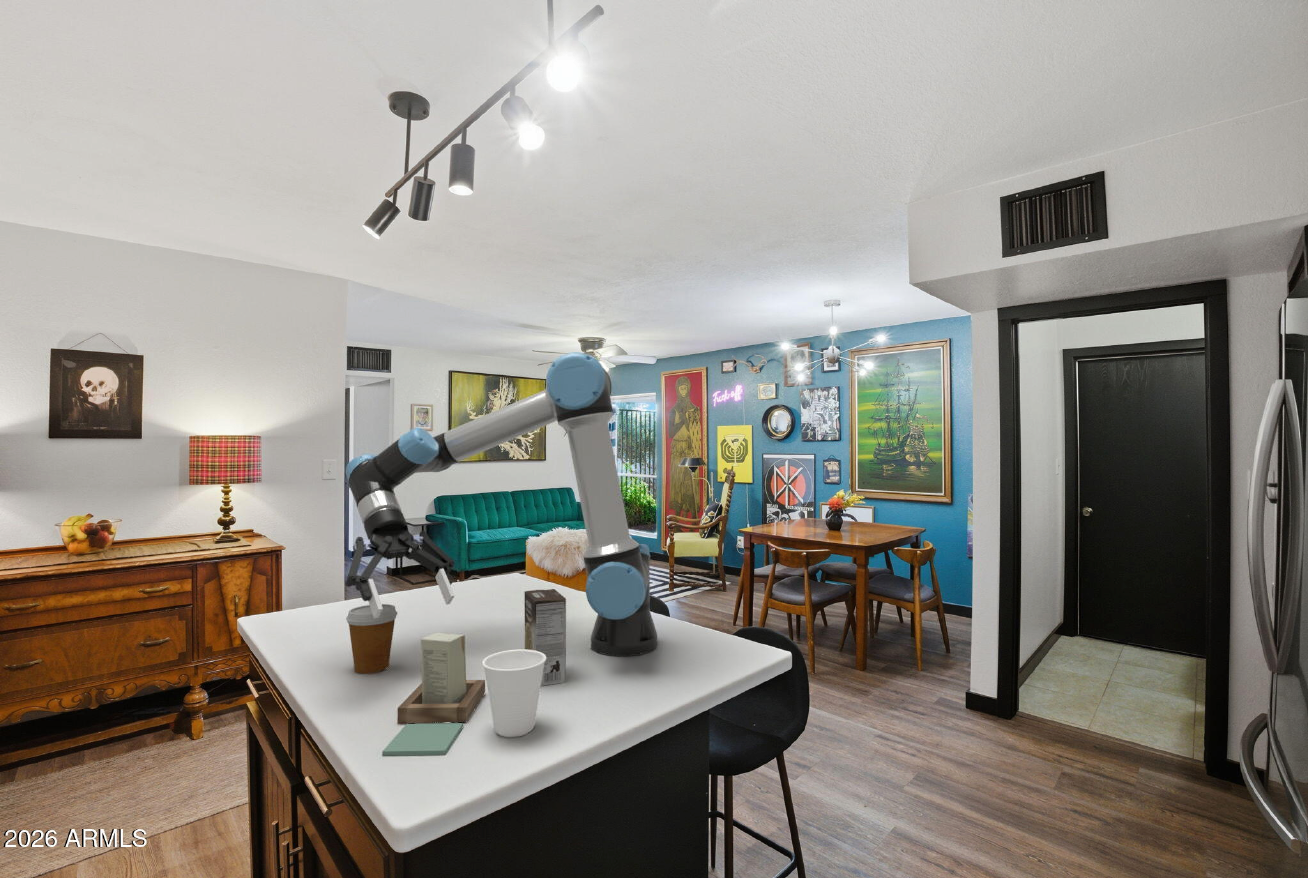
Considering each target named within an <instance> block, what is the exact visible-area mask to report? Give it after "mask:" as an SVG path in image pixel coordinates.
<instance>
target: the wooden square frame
mask: <svg viewBox="0 0 1308 878" xmlns="http://www.w3.org/2000/svg"><path fill="white" fill-rule="evenodd" d="M484 693H485V694H486V679H466V695H465V697H464V698H463V699H462V701H461V702H460V704H422V682H421V683H420V684H419V685H418V686H417V687H416V688H415V690H413V691H412V692H411V694H410V695H409V696H408V697H407V698H406V699H405V700H404V701H402V703H401V704H400V705H399V706H398V707H397V721H396V722H397V724H399V725H403V724H404V723H405V724H404V725H406V723H407V724H408V723H415V724H437V722H438V723H439V722H440V723H441V722H466V721H467V720H468V721H469V719H470V718H471V716H472V714H473V713H474V711H475V710H476V708H477V707H478V705H479V704H478V703H480V702H481V701H482V699H483V698H484V696H485V695H484ZM483 695H484V696H483ZM482 697H483V698H482ZM481 698H482V699H481ZM480 700H481V701H480ZM479 701H480V702H479ZM477 704H478V705H477ZM476 706H477V707H476ZM474 709H475V710H474ZM472 712H473V713H472ZM469 717H470V718H469ZM468 718H469V719H468ZM468 721H467V722H468ZM435 722H436V723H435ZM467 722H466V723H467Z"/></svg>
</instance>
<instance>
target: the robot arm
mask: <svg viewBox="0 0 1308 878" xmlns="http://www.w3.org/2000/svg"><path fill="white" fill-rule="evenodd" d="M610 377H611V376H610V375H609V372H608V371H607V370H606V369H605V368H604V366H603V365H602V364H601V362H600V361H599V360H598V359H596V358H595V357H594V356H592V355H590V354H586V353H583V352H573V351H572V352H568V353H566V354H563V355H561V356H559V357H558V358H557V359H555V361H554V362H552V363H551V365H550V367H549V368H548V371H547V373H546V380H545V384H546V387H545V389H544V390H541V391H539V392H537V393H535V394H532V395H530V396H528V397H525V398H523V399H520V400H518V401H516V402H513V403H511V404H508V405H506V406H503V407H501V408H499V409H497V410H494V411H492V412H490V413H487V414H484V415H482V416H480V417H477V418H475V419H473V420H470V421H468V422H466V423H463V424H460V425H459V426H456V427H454V428H452V429H450V430H447V431H445V432H442V433H439V434H438V435H435V436H432V434H430V433H429V432H428V431H427V430H424V428H421V427H414V428H412V429H410V430H408V431H407V432H406V433H404V434H402V435H400V437H399V438H398V439H397V440H395V441H394V442H393V443H391V444H390V445H389V446H388V447H387V448H385V449H384V450H382V451H381V452H380V453H379V454H377V455H375V454H372V453H371V454H369V453H366V454H362V455H361V456H359V457H357V456H356V457H354V458H353V459H351V460H349V462H348V463H347V465H346V467H345V474H346V478H347V479H346V480H347V485H348V488H349V489H350V491H351V493H352V497H353V499H354V502H355V504H356V507H357V511H358V514H359V517H360V520H361V523H362V524H363V528H364V532H365V534H366V536H367V537H366V538H367V539H364V537H362V536H357V537H356V539H355V541H354V543H353V546H352V548H353V556H352V557H353V558H352V561H351V564H350V568H349V571H348V574H347V577H346V581H345V583H344V584H345V587H352V586H355V590H356V591H358V592H359V593H360V596H361V599H362V601H363V602H368V605H370V608H371V611H372V614H373V617H374V618H378V617H379V615H380V613H381V612H382V610H383V608H382V605H381V604H382V602H381V599H380V596H379V594H378V590H377V587H376V584H375V582H374V578H370V577H371V575H372V574H373V572H374V571H375V569H376V568H377V567H378V564H379V563H380V562H381V560H382V559H386V560H393V559H403V558H407V559H408V560H413V561H415V562H416V563H418V564H419V565H421V566H423V567H425V568H426V569H428V570H429V571H430V572H433V573H435V574H436V575H435V576H434V577H435V580H436V583H437V585H438V588H439V590H440V593H441V595H442V598H443V599H444V602H445V605H451V603H452V601H453V599H454V598H455V596H456V595H455V592H454V590H453V588H452V584H453V578H452V576H451V574H450V572H451V571H452V569H453V567H454V565H455V563H456V562H455V560H454V559H453V558H452V557H450V556H449V554H447V553H446V552H445V551H444V550H442V549H441V548H440V547H439V546H438V545H437V544H436V543H435V542H434V541H433V540H432V539H431V538H430V537H429V535H428V534H427V532H426V531H425V530H421V531H420V532H419V534H414V535H413V534H412V533H411V532H410V531H409V527H408V524H407V521H406V519H405V516H404V513H403V511H402V509H401V506H400V503H399V501H398V499H397V496H396V494H395V491H394V489H395V488H397V487H398V486H400V485H401V484H402V483H403V482H405V481H406V480H407V479H409V478H410V477H411V476H413V475H415V474H416V473H440V472H443V471H446V470H448V469H449V468H450V467H452V466H453V465H455V464H457V463H459V462H461V461H464V460H466V459H468V458H471V457H473V456H476V455H478V454H481V453H483V452H486V451H488V450H489V449H492V448H495V447H498V446H500V445H502V444H504V443H507V442H509V441H512V440H515V439H516V438H518V437H521V436H524V435H527V434H528V433H531V432H534V431H536V430H538V429H541V428H543V427H545V426H548V425H550V424H552V423H555V422H557V425H559V427H561V428H562V429H564V430H565V431H566V432H567V438H568V444H569V448H570V453H571V454H570V455H571V459H572V464H573V465H572V466H573V469H574V474H575V482H576V485H577V491H578V496H579V501H580V507H581V512H582V516H583V522H584V527H585V531H586V537H587V542H588V543H587V544H588V546H587V549H586V550H585V551H584V553H583V554H582V556H583V557H582V558H583V561H584V567H585V572H586V578H587V580H586V583H585V584H586V585H585V595H586V599H587V602H588V604H589V606H590V607H591V609H592V610H593V611H594V612H595V613H596V614H597V616H596V620H595V622H594V625H593V629H592V632H591V635H590V648H591V649H592V650H593V651H594V652H597V653H599V654H603V655H608V656H615V657H616V656H617V657H618V656H620V657H622V656H623V657H624V656H625V657H627V656H637V655H643V654H646V653H650V652H652V651H654V650H655V649H657V648H658V643H659V642H658V640H659V639H658V637H659V636H658V632H657V629H656V627H655V623H654V619H653V617H652V614H651V610H650V609H651V605H650V603H651V602H650V601H651V591H650V590H651V588H650V584H651V583H650V581H651V580H650V577H651V576H650V568H651V567H650V562H651V561H650V560H651V554H650V547H649V546H648V545H647V544H645V543H639V542H638V541H636V540H635V539H633V538H632V537H631V536H630V532H629V525H628V520H627V515H626V510H625V504H624V500H623V494H622V489H621V485H620V479H619V474H618V469H617V463H616V458H615V455H614V454H615V453H614V447H613V443H612V439H611V433H610V428H609V421H610V420H611V418H612V417H613V416H614V409H613V404H612V399H611V395H612V380H611V378H610ZM368 548H369V549H370V550H371V551H373V552H375V554H374V555H373V557H372V558H371V560H370V561H369V563H368V564H367V566H366V567H365V569H364V570H363V572H362V574H361V575H358V571H359V568H360V565H361V561H362V557H363V554H364V552H366V551H367V549H368ZM410 549H411V551H410Z"/></svg>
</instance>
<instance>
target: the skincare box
mask: <svg viewBox="0 0 1308 878" xmlns="http://www.w3.org/2000/svg"><path fill="white" fill-rule="evenodd" d="M420 649H421V653H420V656H421V663H420V664H421V683H422V704H460V702H461V701H462V699H463V698H464V697H465V695H466V680H467V666H466V665H467V664H466V663H467V659H466V658H467V657H466V654H467V652H466V635H465V634H462V633H460V634H459V633H447V632H435V633H432V634H430V635H427V636H424V637H423V638H420Z"/></svg>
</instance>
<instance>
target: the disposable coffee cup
mask: <svg viewBox="0 0 1308 878" xmlns="http://www.w3.org/2000/svg"><path fill="white" fill-rule="evenodd" d="M381 605H382V608H383V610H382V612H381V613H380V615H379V617H378V618H374V617H373V614H372V611H371V608H370V605H369V604H367V605H361V606H360V605H359V606H357V607H353V608H351V609H349V611H348V613H347V616H346V618H345V619H346V622H347V624H348V628H349V634H350V636H349V638H350V642H351V643H350V644H351V653H352V660H353V668H354V669H353V670H354V672H355V673H357V674H362V675H363V674H364V675H365V674H375V672H376V673H380V672H382V671H381V670H383V671H385V670H386V668H387V667H388V666H390V659H391V651H392V643H393V638H394V637H393V636H394V629H395V620H396V618H397V615H398V611H397V610H396V606H395V605H392V604H387V603H381ZM388 668H389V667H388ZM388 668H387V669H388ZM384 669H385V670H384ZM379 671H380V672H379Z"/></svg>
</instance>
